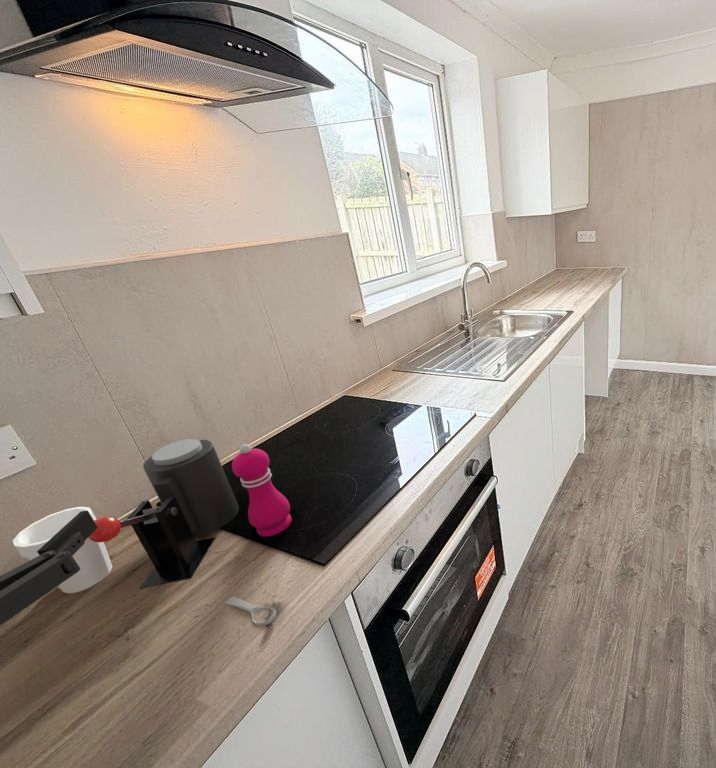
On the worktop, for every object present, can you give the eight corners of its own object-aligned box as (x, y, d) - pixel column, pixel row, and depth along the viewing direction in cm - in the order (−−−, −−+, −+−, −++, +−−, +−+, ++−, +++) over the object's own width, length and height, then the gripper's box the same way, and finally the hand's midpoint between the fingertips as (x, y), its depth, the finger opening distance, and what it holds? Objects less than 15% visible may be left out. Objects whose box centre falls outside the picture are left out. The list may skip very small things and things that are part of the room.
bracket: (193, 582, 72) (161, 521, 67) (142, 593, 71) (105, 531, 65) (217, 541, 81) (191, 484, 76) (172, 550, 80) (142, 492, 74)
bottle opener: (266, 632, 62) (261, 623, 62) (217, 612, 67) (212, 603, 67) (283, 615, 65) (278, 606, 64) (235, 597, 70) (230, 588, 69)
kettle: (224, 543, 81) (188, 465, 74) (161, 555, 79) (118, 477, 72) (252, 493, 95) (225, 424, 88) (200, 502, 93) (167, 432, 86)
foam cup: (68, 573, 76) (31, 518, 71) (131, 553, 80) (100, 500, 75) (43, 614, 68) (-1, 555, 63) (114, 590, 72) (78, 532, 67)
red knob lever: (109, 542, 59) (107, 516, 59) (80, 547, 58) (78, 522, 59) (173, 521, 73) (171, 500, 73) (150, 525, 72) (148, 504, 73)
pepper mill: (260, 522, 86) (227, 439, 78) (298, 513, 88) (269, 431, 80) (251, 546, 79) (214, 459, 71) (292, 536, 81) (260, 450, 73)
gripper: (-402, 813, 30) (-84, 577, 49) (9, 714, 34) (154, 533, 53) (-512, 756, 27) (-127, 528, 46) (-46, 656, 31) (128, 486, 50)
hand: (24, 530), depth 49 cm, fingers open, 13 cm apart
